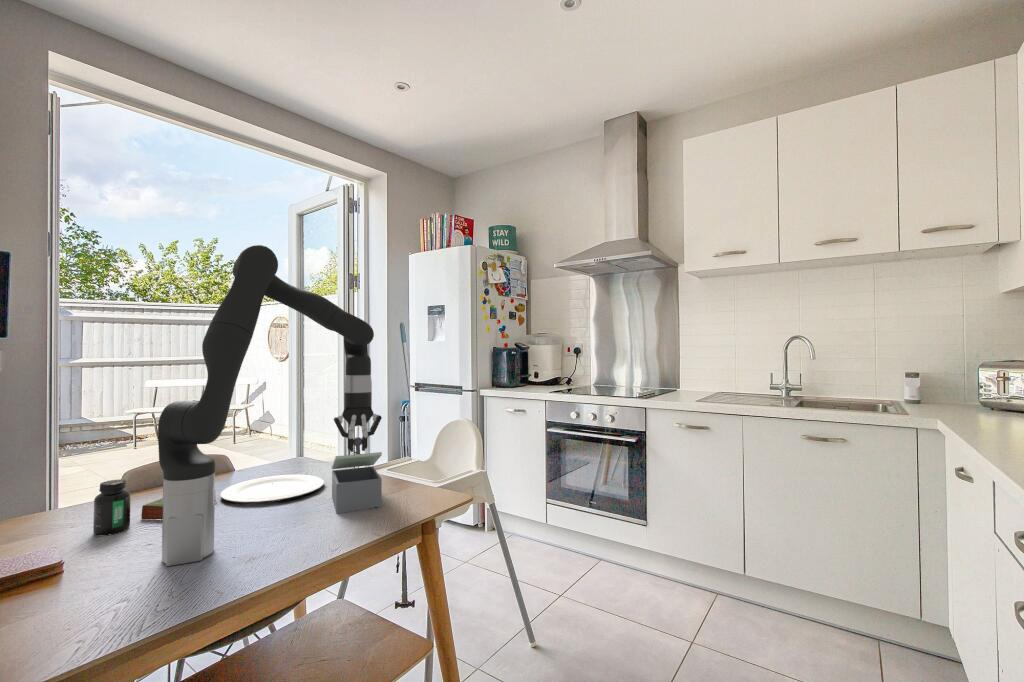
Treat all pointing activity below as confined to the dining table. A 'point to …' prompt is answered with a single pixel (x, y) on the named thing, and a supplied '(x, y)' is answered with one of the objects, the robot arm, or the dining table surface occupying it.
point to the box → (356, 489)
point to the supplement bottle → (112, 508)
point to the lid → (356, 458)
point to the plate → (272, 488)
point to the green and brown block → (153, 510)
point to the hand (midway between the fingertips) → (357, 450)
